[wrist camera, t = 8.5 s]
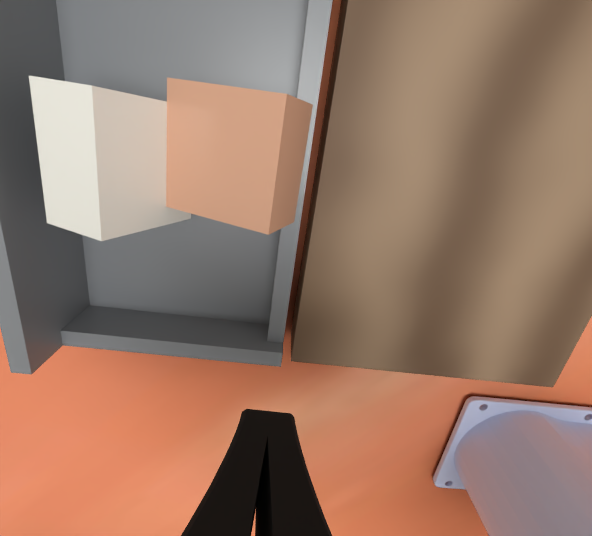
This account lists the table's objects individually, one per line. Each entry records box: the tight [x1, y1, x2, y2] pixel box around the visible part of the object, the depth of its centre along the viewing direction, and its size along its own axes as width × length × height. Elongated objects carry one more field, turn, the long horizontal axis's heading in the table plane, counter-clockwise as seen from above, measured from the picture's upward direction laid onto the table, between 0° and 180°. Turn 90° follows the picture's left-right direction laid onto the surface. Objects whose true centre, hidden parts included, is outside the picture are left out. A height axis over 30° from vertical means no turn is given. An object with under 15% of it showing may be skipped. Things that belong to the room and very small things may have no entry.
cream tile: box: [29, 76, 191, 241], centre depth 12 cm, size 4×4×2 cm
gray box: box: [0, 0, 333, 374], centre depth 13 cm, size 11×18×5 cm, turn 172°
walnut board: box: [291, 0, 592, 387], centre depth 15 cm, size 14×18×2 cm
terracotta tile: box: [166, 77, 313, 235], centre depth 13 cm, size 4×4×2 cm
